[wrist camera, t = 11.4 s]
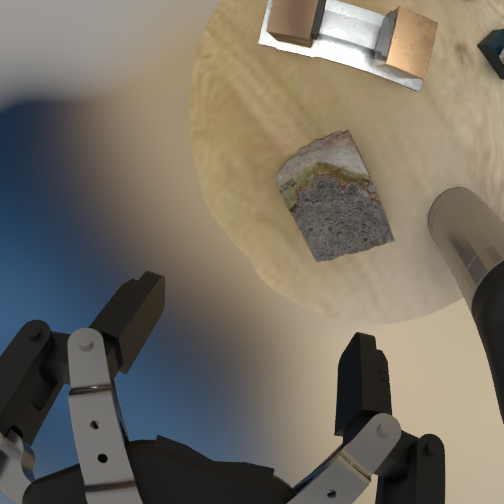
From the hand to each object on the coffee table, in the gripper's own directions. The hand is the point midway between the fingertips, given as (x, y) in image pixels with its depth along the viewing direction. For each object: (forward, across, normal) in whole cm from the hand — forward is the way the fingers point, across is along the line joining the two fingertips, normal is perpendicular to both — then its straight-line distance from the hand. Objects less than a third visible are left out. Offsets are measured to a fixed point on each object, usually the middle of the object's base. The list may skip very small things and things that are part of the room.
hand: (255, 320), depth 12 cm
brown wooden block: (+29, +4, -16) cm, 33 cm away
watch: (+30, -22, -23) cm, 44 cm away
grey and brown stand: (+30, -2, -16) cm, 34 cm away
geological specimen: (+31, -6, +5) cm, 31 cm away
